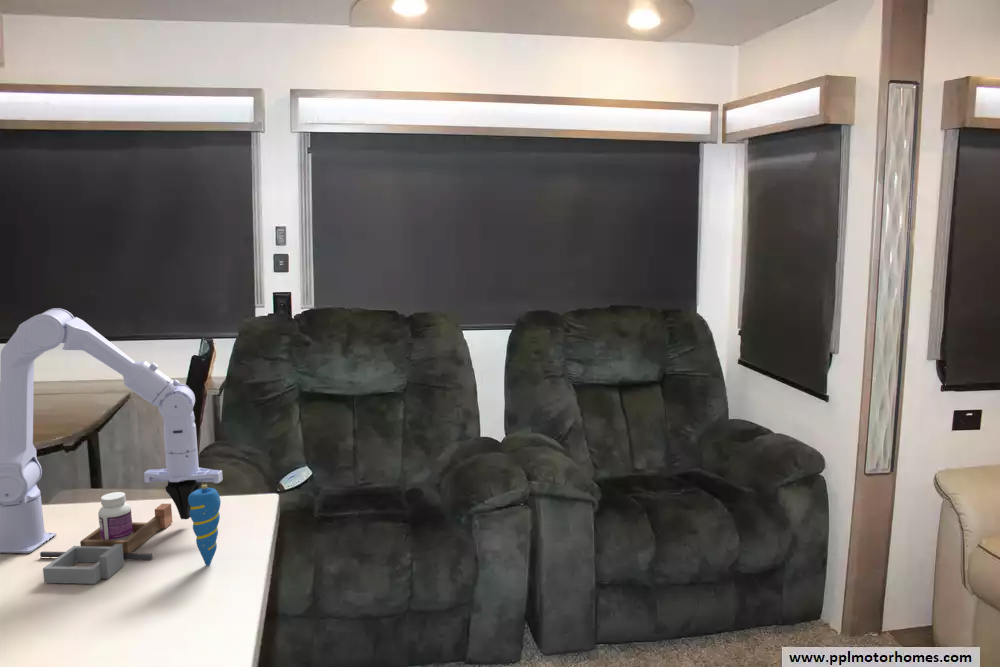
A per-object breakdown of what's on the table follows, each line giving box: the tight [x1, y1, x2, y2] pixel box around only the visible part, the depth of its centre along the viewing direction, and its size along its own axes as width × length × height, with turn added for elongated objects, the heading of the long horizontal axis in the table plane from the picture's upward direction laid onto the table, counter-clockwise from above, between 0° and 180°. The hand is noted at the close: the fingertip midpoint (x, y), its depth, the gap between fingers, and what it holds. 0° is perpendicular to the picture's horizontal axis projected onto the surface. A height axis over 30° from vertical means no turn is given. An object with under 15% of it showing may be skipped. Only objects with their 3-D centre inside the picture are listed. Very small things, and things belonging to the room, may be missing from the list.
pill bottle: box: [98, 491, 133, 540], centre depth 142 cm, size 5×5×10 cm
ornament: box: [188, 482, 221, 566], centre depth 134 cm, size 5×5×15 cm
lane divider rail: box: [39, 551, 153, 561], centre depth 138 cm, size 20×1×1 cm, turn 87°
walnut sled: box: [79, 503, 173, 553], centre depth 146 cm, size 10×15×4 cm, turn 177°
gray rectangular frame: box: [42, 544, 125, 585], centre depth 132 cm, size 10×9×4 cm
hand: (186, 517), depth 151 cm, fingers closed
